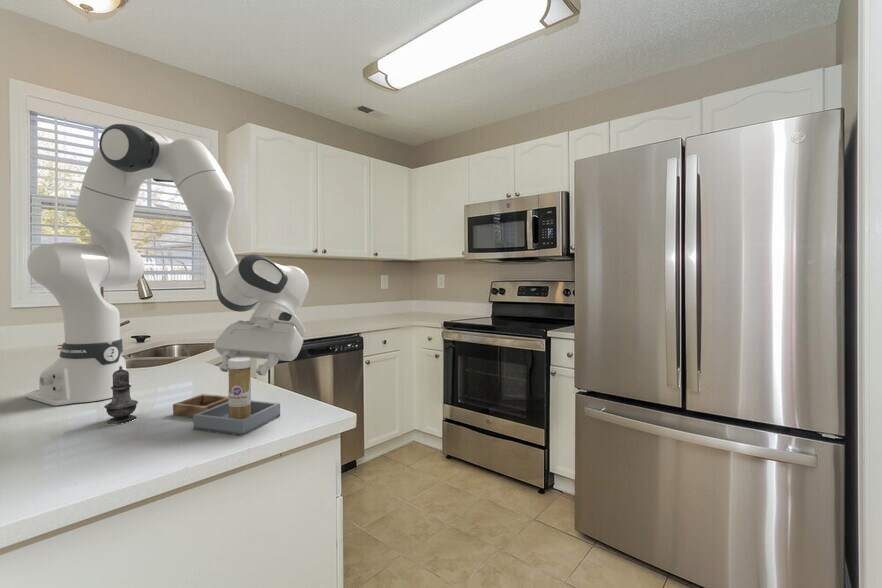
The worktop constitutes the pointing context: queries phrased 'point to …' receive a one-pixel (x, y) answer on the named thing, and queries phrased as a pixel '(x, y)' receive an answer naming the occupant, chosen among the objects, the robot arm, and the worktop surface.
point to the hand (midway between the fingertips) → (241, 372)
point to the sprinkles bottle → (239, 387)
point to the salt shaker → (121, 399)
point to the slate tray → (221, 422)
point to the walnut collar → (198, 404)
